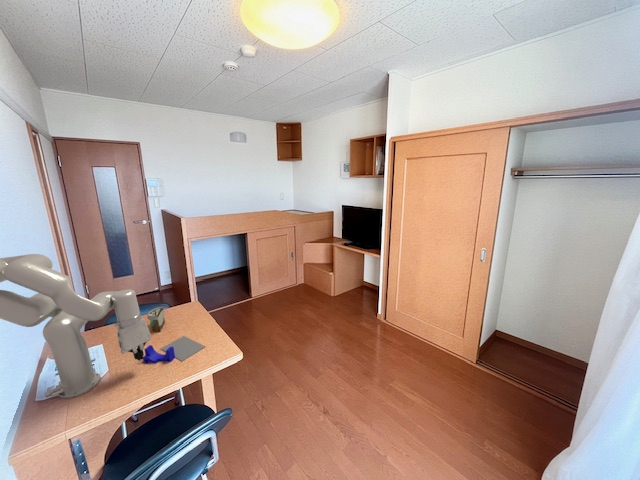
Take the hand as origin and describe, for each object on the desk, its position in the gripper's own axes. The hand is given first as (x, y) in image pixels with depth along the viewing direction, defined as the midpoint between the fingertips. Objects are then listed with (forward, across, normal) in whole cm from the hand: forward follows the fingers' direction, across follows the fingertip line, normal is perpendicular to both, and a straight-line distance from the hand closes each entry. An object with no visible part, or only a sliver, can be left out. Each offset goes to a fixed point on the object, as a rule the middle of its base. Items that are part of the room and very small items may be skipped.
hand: (139, 358), depth 109 cm
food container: (+7, +21, +31) cm, 38 cm away
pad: (+7, +18, +1) cm, 20 cm away
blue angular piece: (+7, +8, +2) cm, 11 cm away
